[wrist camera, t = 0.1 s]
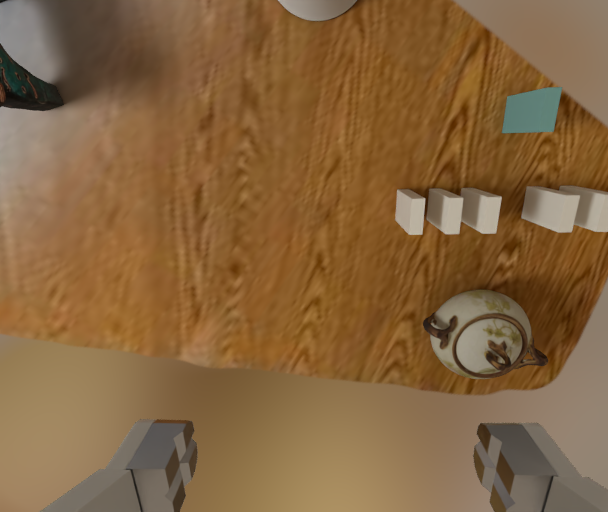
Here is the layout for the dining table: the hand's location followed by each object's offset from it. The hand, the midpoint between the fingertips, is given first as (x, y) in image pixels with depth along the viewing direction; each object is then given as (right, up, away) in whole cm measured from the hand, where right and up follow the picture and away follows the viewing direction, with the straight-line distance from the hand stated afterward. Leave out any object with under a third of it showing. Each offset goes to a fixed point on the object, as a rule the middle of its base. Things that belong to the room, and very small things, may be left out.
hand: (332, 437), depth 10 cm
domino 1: (+15, +13, +45) cm, 50 cm away
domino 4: (+35, +14, +44) cm, 58 cm away
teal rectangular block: (+30, +26, +41) cm, 56 cm away
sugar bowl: (+28, -5, +52) cm, 59 cm away
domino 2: (+20, +14, +45) cm, 51 cm away
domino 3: (+25, +14, +45) cm, 53 cm away
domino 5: (+40, +14, +44) cm, 61 cm away
